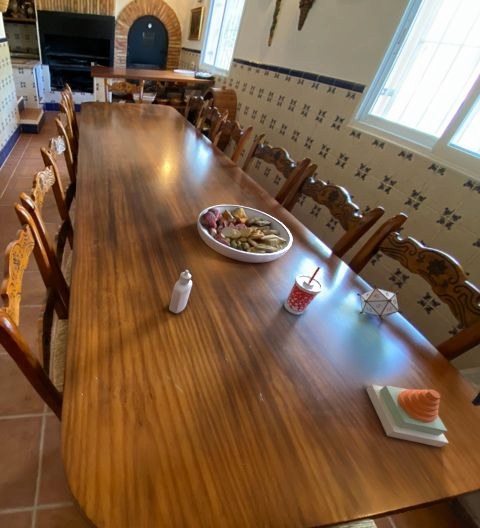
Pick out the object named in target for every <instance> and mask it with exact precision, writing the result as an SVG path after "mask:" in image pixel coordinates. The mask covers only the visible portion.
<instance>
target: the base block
mask: <svg viewBox="0 0 480 528" xmlns="http://www.w3.org/2000/svg"><path fill="white" fill-rule="evenodd" d="M383 387H384V386H382V385H381V386H380V385H376V384H371V385H369V386H368V387H367V388H366V389H365V390H366V393H367V395H368V397H369V399H370V401H371V403H372V406H373V408H374V410H375V412H376V415H377V416H378V418H379V420H380V421H379V422H381V426H382V428H383V430H384V432H385V434H386V436H387V437H392V438H396V439H400V440H404V441H410V442H414V443H420V444H425V445H428V446H433V447H438V448H442V447H444V446H445V445H447V444H449V441H448V439H447V438H446V436H445V433H443V434H441V435H435V434H430V433H425V432H420V431H415V430H411V429H406V428H401V427H397V425H396V423H395V421H394V419H393V416H392V414H391V412H390V410H389V408H388V406H387V404H386V402H385V400H384V398H383V396H382V394H381V392H380V390H381V389H382V388H383Z"/></svg>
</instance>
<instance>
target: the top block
mask: <svg viewBox="0 0 480 528" xmlns="http://www.w3.org/2000/svg"><path fill="white" fill-rule="evenodd" d="M382 387H383V388H382V389H381V390H380V392H381V394H382V396H383V398H384V400H385V402H386V404H387V406H388V408H389V410H390V412H391V414H392V416H393V419H394V421H395V423H396V425H397V427H401V428H406V429H411V430H415V431H420V432H425V433H430V434H435V435H441V434H445V433H447V432H448V429H447V427H446V426H445V424H444V423H443V420H442V419H441V418H440V416H439V415H438V417H437V419H436V420H434V421H432V422H430V423H424V422H421V421H418V420H416V419H414V418H413V417H411V416H410V415H409V414H407V413H406V412H405V411H404V410H403V409H402V407H401V406H400V404H399V402H398V399H397V396H398V394H399V393H400V392H402V391H403V390H408V389H406V388H403V387H402V388H401V387H396V386H391V385H384V386H382Z"/></svg>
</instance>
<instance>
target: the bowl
mask: <svg viewBox="0 0 480 528" xmlns="http://www.w3.org/2000/svg"><path fill="white" fill-rule="evenodd" d="M196 224H197V225H196V226H197V230H198V234H199V236H200V238H201V240H203V242H204V243H205V244H206V245H207V246H208V247H210V248H211V249H212V250H214V251H215V252H217V253H219V254H221V255H222V256H224V257H227V258H229V259H233V260H236V261H239V262H245V263H255V264H256V263H268V262H272V261H275V260H277V259H279V258H281V257H283V256H284V255H285V254H286V253H287V252H288V251H289V250H290V248H291V246H292V243H293V236H292V233H291V232H290V230H289V228H287V227H286V226H285V225H284V224H283V222H281V221H280V220H278V219H277V218H276V217H273V216H271V215H270V214H268V213H266V212H263V211H261V210H258V209H255V208H251V207H248V206H243V205H237V204H218V205H213V206H210V207H207V208H205V209H203V210H202V211H201V212H200V213H199V214H198V218H197V223H196Z"/></svg>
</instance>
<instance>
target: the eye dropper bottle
mask: <svg viewBox="0 0 480 528" xmlns="http://www.w3.org/2000/svg"><path fill="white" fill-rule="evenodd" d="M191 279H192V275H191V274H190V271H189V270H188V269H185V270H184V271H182V272H181V273H180V275H179V279H177V281H176V283H175V284H174V286H173V289H172V293H171V298H170V302H169V307H168V311H170V312H171V313H174V314H179V313H181V312H183V311H184V310H185V308H186V306H187V303H188V301H189V297H190V293H191V290H192V286H193V281H192V280H191Z"/></svg>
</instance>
